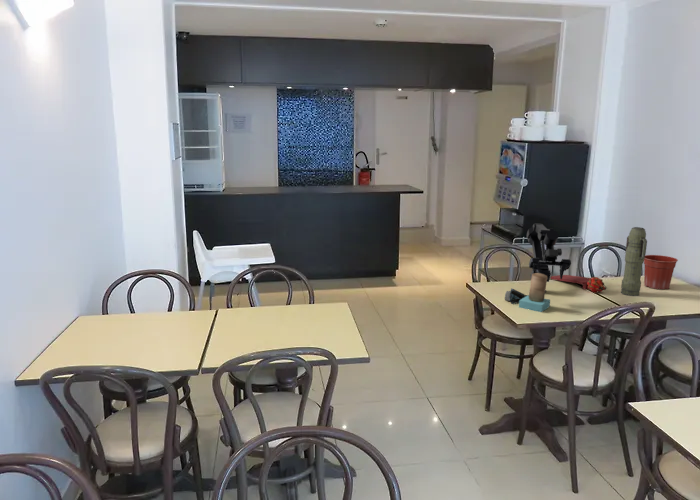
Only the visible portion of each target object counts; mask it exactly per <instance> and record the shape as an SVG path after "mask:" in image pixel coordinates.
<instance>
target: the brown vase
mask: <svg viewBox="0 0 700 500" xmlns="http://www.w3.org/2000/svg"><path fill="white" fill-rule="evenodd" d="M546 289H547V276H546V275H545V274H541V273H533V274H532V278H531V277H530V286H529V291H528V295H529V299H530V300H531V301H534V302H542V301H544V298H545V296H546V292H545V290H546ZM546 291H547V290H546Z"/></svg>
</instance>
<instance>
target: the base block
mask: <svg viewBox="0 0 700 500" xmlns="http://www.w3.org/2000/svg"><path fill="white" fill-rule="evenodd" d="M550 306H551V299H550V298H545V297H544V301H542V302H534V301H531V300H530V299H529V294H528V295H527V296H526V297H524V298H522V299H521V300H519V303H518V308H521V309H525V310H528V309H529V310H530V311H532V312H533V311H534V312H538V313H543V312H544V311H546V310H547V309H548V308H549V307H550ZM529 310H528V311H529Z"/></svg>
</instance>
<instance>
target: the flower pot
mask: <svg viewBox="0 0 700 500" xmlns="http://www.w3.org/2000/svg"><path fill="white" fill-rule="evenodd" d="M678 261H679V259H677V258H675V257H672V256H667V255H661V254H645V258H644V262H643V264H644V274H643V275H644V276H643V278H644V283H643V284H644V286H645V287H646V288H647V287H649V288H650V289H654V290H669V289H670V287H671V283H672V279H673V274H674V270H675V268H676V265H677V262H678Z"/></svg>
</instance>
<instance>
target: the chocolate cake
mask: <svg viewBox="0 0 700 500" xmlns="http://www.w3.org/2000/svg"><path fill="white" fill-rule="evenodd" d="M526 296H527V295H526V294H525V293H522V292H521V291H518V290H516V289H514V288H510V290H506V291H505V294H504V301H505V302H506V301H507V302H508V301H509V302H510V304H511V305H513V304H519V300H521V299H522V298H524V297H526Z"/></svg>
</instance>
